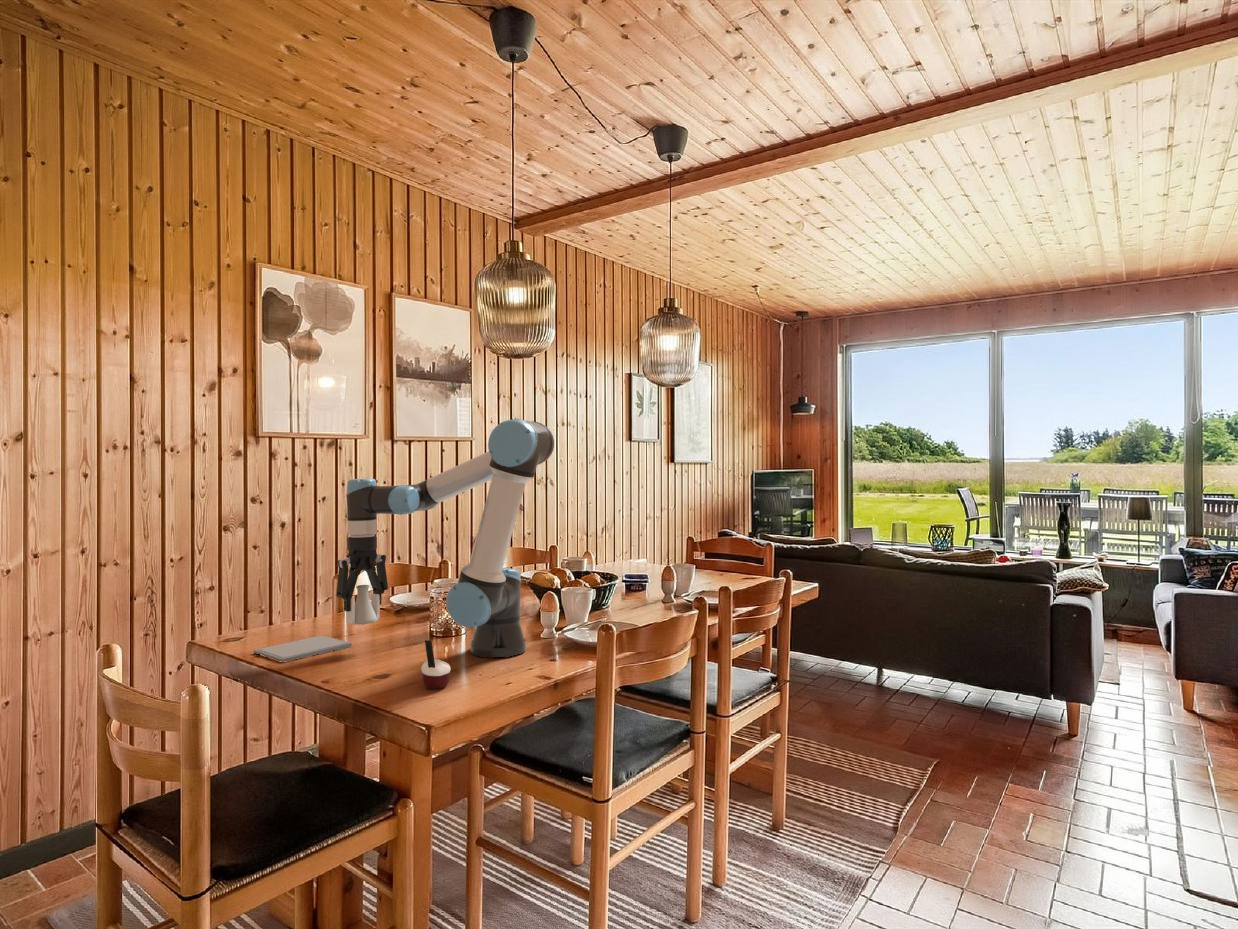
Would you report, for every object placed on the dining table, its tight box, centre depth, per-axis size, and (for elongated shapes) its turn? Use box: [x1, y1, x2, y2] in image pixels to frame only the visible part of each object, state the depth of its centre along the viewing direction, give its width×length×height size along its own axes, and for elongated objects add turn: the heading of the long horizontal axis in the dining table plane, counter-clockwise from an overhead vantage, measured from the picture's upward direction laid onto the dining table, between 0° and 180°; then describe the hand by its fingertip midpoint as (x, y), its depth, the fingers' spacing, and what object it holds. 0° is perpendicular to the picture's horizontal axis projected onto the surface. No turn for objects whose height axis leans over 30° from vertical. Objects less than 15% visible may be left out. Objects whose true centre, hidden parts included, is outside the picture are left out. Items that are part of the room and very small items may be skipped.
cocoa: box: [420, 639, 452, 690], centre depth 163 cm, size 10×6×12 cm, turn 149°
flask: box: [353, 584, 379, 626], centre depth 190 cm, size 7×7×10 cm
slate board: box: [253, 634, 352, 662], centre depth 192 cm, size 14×20×1 cm
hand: (363, 620), depth 190 cm, fingers closed on flask, 7 cm apart
